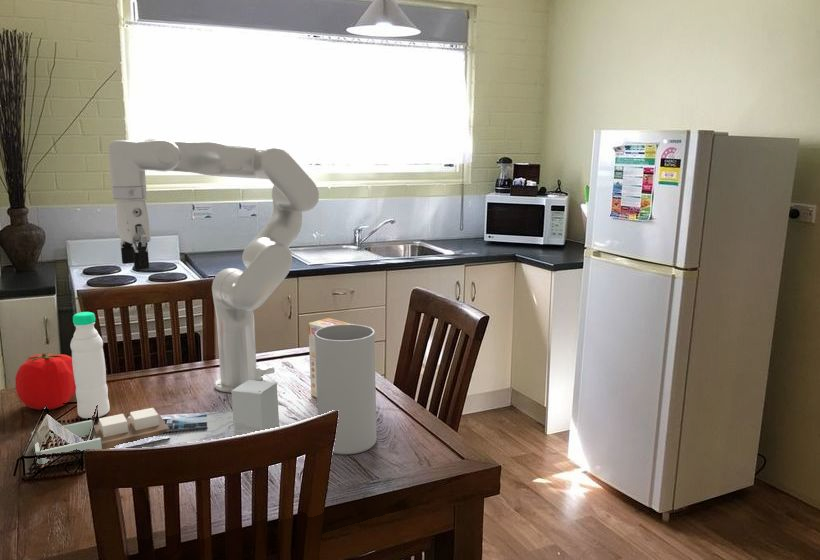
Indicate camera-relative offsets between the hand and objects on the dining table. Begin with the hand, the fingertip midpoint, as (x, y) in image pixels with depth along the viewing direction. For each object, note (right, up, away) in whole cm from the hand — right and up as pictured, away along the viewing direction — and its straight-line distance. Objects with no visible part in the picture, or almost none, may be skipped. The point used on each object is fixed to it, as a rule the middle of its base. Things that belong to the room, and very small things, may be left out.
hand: (135, 266), depth 166 cm
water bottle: (-11, -36, +2) cm, 37 cm away
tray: (-8, -40, -18) cm, 44 cm away
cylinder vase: (+52, -39, -15) cm, 67 cm away
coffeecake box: (+48, -34, +10) cm, 59 cm away
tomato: (-24, -35, +8) cm, 43 cm away
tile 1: (0, -36, -13) cm, 39 cm away
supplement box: (+32, -39, -13) cm, 52 cm away
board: (+3, -38, -11) cm, 40 cm away
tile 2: (+6, -36, -10) cm, 37 cm away
